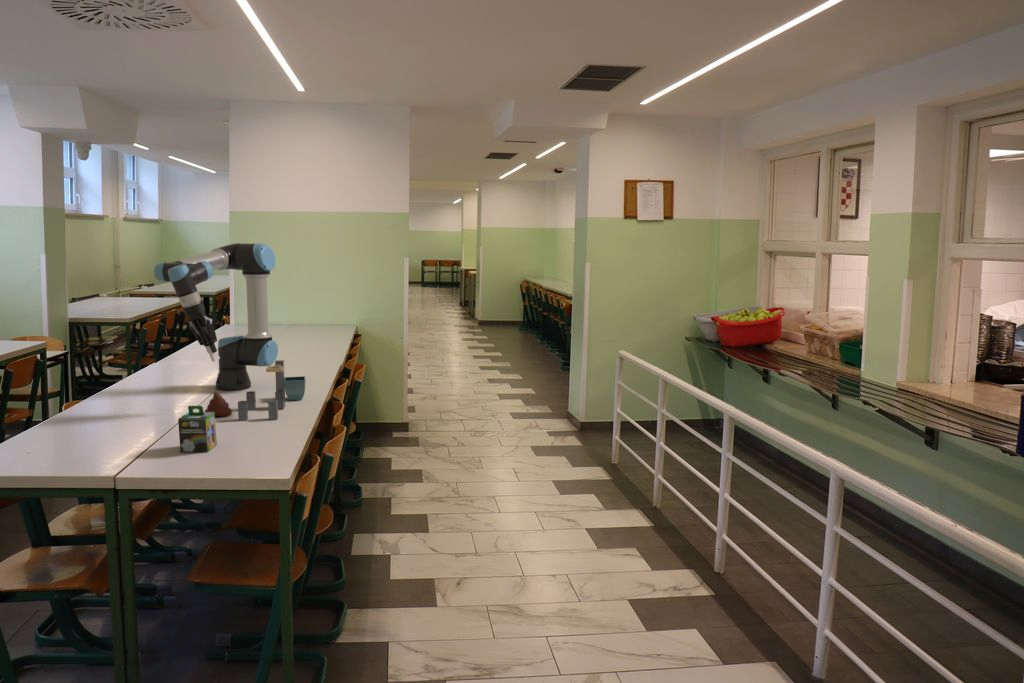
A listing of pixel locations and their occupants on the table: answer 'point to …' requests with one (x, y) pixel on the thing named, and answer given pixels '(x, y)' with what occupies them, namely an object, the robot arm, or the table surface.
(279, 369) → the sight ring stand
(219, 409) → the poop emoji
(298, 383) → the flower pot
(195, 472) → the table surface
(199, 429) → the chalk box
